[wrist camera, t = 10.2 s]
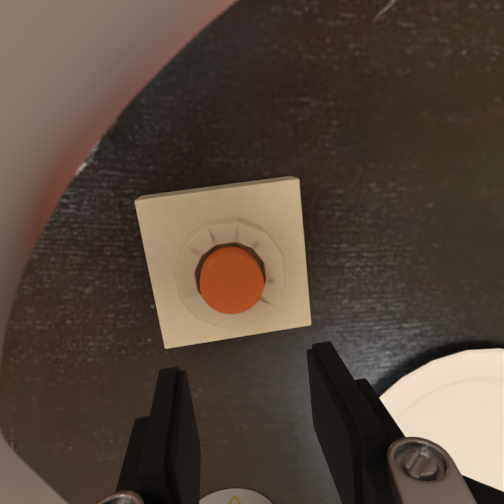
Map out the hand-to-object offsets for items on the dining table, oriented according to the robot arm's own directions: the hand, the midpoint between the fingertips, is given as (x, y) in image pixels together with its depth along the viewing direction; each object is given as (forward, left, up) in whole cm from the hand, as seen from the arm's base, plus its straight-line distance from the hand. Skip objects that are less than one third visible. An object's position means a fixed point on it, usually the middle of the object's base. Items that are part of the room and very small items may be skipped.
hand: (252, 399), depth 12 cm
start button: (0, 0, -12) cm, 12 cm away
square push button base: (0, 0, -15) cm, 15 cm away
